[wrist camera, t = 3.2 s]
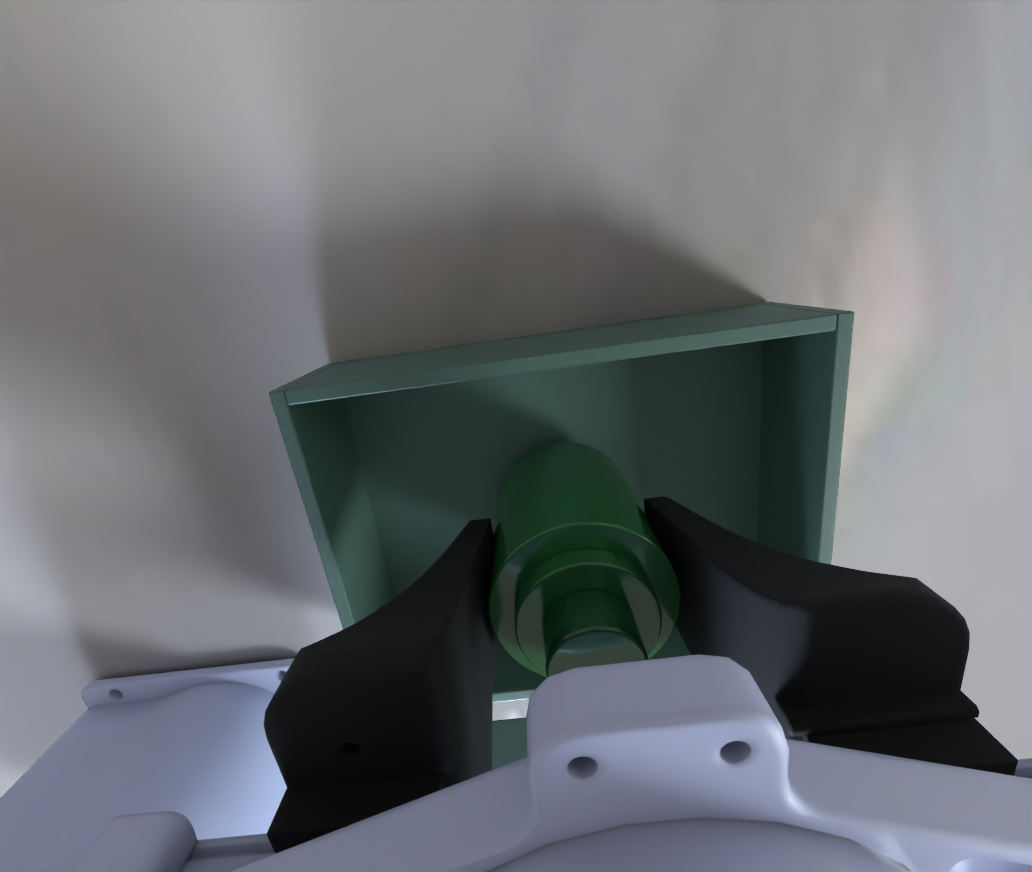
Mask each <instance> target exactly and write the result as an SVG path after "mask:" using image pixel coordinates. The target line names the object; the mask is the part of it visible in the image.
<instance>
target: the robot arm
mask: <svg viewBox="0 0 1032 872" xmlns="http://www.w3.org/2000/svg"><path fill="white" fill-rule="evenodd" d="M644 512H645V515H646V517H647V519H648V521H649V523H650V525H651V526H652V528H653V530H654V532H655V534H656V536H657V537H658V539H659V541H660V543H661V545H662V547H663V548H664V550H665V552H666V554H667V556H668V558H669V560H670V561H671V563H672V565H673V567H674V569H675V572H676V574H677V577H678V581H679V584H680V592H681V604H680V611H679V616H678V619H677V622H676V627H677V629H678V631H679V633H680V635H681V637H682V639H683V641H684V643H685V645H686V647H687V649H688V651H689V653H690V655H689V656H680V657H671V658H662V659H653V660H644V661H635V662H626V663H616V664H607V665H598V666H589V667H580V668H574V669H571V670H568V671H565V672H561V673H558V674H555V675H552V676H549V677H547V678H546V679H545V680H544V682H543V683H542V684H541V685H540V686H539V687H538V688H537V689H536V690H535V691H534V692H533V693H532V694H531V695H530V699H529V705H528V710H527V716H526V717H527V757H525V758H522V759H520V760H517V761H514V762H512V763H509V764H507V765H504V766H501V767H499V768H496V769H494V770H492V695H493V678H494V669H495V661H496V652H497V644H498V639H497V638H496V636H495V633H494V631H493V629H492V626H491V622H490V619H489V611H488V599H489V586H490V573H491V561H492V549H493V537H494V534H493V529H492V523H491V518H486V519H478V520H470V521H469V522H468V524H467V525H466V526H465V527H464V528H463V530H462V531H461V532H460V533H459V535H458V536H457V537H456V538H455V540H454V541H453V542H452V543H451V545H450V546H449V547H448V548H447V549H446V551H445V552H444V553H443V554H442V555H441V556H440V557H439V559H438V560H437V561H436V562H435V563H434V564H433V565H432V566H431V567H430V568H429V569H428V570H427V571H426V572H425V573H424V574H423V575H422V576H421V577H420V578H419V579H418V580H416V581H415V582H414V583H413V584H412V585H411V586H409V587H408V588H407V589H406V590H405V591H403V592H402V593H401V594H399V595H398V596H397V597H395V598H394V599H392V600H391V601H390V602H388V603H387V604H385V605H384V606H382V607H381V608H379V609H378V610H377V611H375V612H374V613H372V614H370V615H369V616H367V617H365V618H364V619H362V620H360V621H358V622H357V623H355V624H353V625H351V626H349V627H347V628H346V629H344V630H342V631H340V632H338V633H336V634H333V635H331V636H329V637H327V638H325V639H322V640H320V641H318V642H316V643H313V644H311V645H309V646H307V647H304V648H302V649H300V651H299V653H298V654H297V656H296V657H295V658H292V659H283V660H274V661H265V662H256V663H247V664H238V665H229V666H220V667H211V668H202V669H193V670H185V671H176V672H167V673H158V674H149V675H140V676H131V677H122V678H113V679H104V680H95V681H91V682H90V683H89V684H88V685H87V686H86V687H85V688H84V689H83V690H82V692H81V696H82V698H83V700H84V702H85V704H86V705H87V707H88V710H87V711H86V712H85V713H84V714H83V715H82V716H81V717H80V718H79V719H78V720H77V721H76V722H75V723H74V724H73V725H72V726H71V727H70V728H69V729H68V730H67V731H66V732H65V733H64V734H63V735H62V736H61V737H60V738H59V739H58V740H57V741H56V742H55V743H54V744H53V745H52V746H51V747H50V748H49V749H48V750H47V751H46V752H45V753H44V754H43V755H42V756H41V757H40V758H39V759H38V760H37V761H36V762H35V763H34V764H33V765H32V766H31V768H30V769H29V770H28V771H27V772H26V773H25V774H24V775H23V776H22V777H21V778H20V779H19V780H18V781H17V782H16V783H15V784H14V785H13V786H12V787H11V788H10V789H9V790H8V791H7V792H6V793H5V794H4V795H3V796H2V797H1V798H0V872H1032V758H1030V759H1020V760H1017V759H1016V758H1015V757H1014V756H1013V755H1012V754H1011V753H1010V752H1009V751H1008V750H1007V749H1006V748H1005V747H1004V746H1003V745H1002V744H1001V743H1000V742H999V741H998V740H997V739H996V738H994V737H993V736H992V735H991V734H990V733H989V732H988V731H987V730H986V729H985V728H984V727H983V726H982V725H981V724H980V723H979V722H978V721H977V720H976V719H975V717H978V715H979V710H978V708H977V706H976V705H975V704H974V703H973V702H972V701H971V700H970V699H969V698H968V697H967V696H966V695H965V694H964V693H963V692H962V691H960V689H961V684H962V679H963V675H964V670H965V665H966V661H967V656H968V651H969V636H970V633H969V630H968V627H967V624H966V621H965V619H964V617H963V616H962V615H961V614H960V613H959V612H958V610H957V609H956V608H955V607H954V606H952V605H951V604H950V603H948V602H947V601H946V600H944V599H943V598H942V597H940V596H939V595H938V594H936V593H935V592H934V591H933V590H931V589H930V588H929V587H927V586H926V585H925V584H923V583H922V582H921V581H919V580H918V579H916V578H911V577H903V576H896V575H888V574H880V573H873V572H866V571H860V570H855V569H849V568H844V567H839V566H834V565H830V564H825V563H821V562H817V561H813V560H809V559H806V558H802V557H799V556H795V555H792V554H788V553H785V552H782V551H779V550H776V549H773V548H770V547H768V546H765V545H762V544H760V543H757V542H754V541H752V540H749V539H747V538H745V537H742V536H740V535H738V534H736V533H734V532H732V531H729V530H727V529H725V528H723V527H721V526H719V525H717V524H715V523H713V522H711V521H709V520H708V519H706V518H704V517H702V516H700V515H699V514H697V513H695V512H693V511H691V510H690V509H688V508H686V507H684V506H683V505H681V504H679V503H677V502H676V501H674V500H672V499H670V498H668V497H666V496H663V497H655V498H647V499H644ZM283 671H285V672H286V673H285V672H283Z"/></svg>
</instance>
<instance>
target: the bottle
mask: <svg viewBox="0 0 1032 872" xmlns="http://www.w3.org/2000/svg"><path fill="white" fill-rule="evenodd" d="M680 604H681V592H680V584H679V581H678V577H677V574H676V572H675V569H674V567H673V565H672V563H671V561H670V560H669V558H668V556H667V554H666V552H665V550H664V548H663V547H662V545H661V543H660V541H659V539H658V537H657V536H656V534H655V532H654V530H653V528H652V526H651V525H650V523H649V521H648V519H647V517H646V515H645V513H644V512H643V510H642V508H641V506H640V504H639V502H638V501H637V499H636V497H635V495H634V493H633V491H632V490H631V488H630V486H629V484H628V482H627V480H626V478H625V477H624V475H623V473H622V472H621V470H620V468H619V467H618V466H617V465H616V464H615V462H614V461H613V460H612V459H610V458H609V457H608V456H607V455H606V454H604V453H602V452H601V451H599V450H597V449H595V448H593V447H591V446H587V445H584V444H580V443H574V442H556V443H551V444H546V445H543V446H540V447H537V448H535V449H533V450H531V451H529V452H527V453H526V454H524V455H522V456H521V457H520V458H519V459H518V460H516V461H515V462H514V463H513V464H512V466H511V467H510V468H509V469H508V471H507V472H506V473H505V475H504V477H503V479H502V481H501V483H500V486H499V489H498V493H497V500H496V512H495V524H494V537H493V549H492V561H491V573H490V586H489V599H488V611H489V619H490V622H491V626H492V629H493V631H494V633H495V636H496V638H497V639H498V641H499V642H500V644H501V646H502V647H503V648H504V649H505V651H506V652H507V653H508V654H509V655H510V656H511V657H512V658H513V659H514V660H515V661H517V662H518V663H519V664H521V665H522V666H524V667H525V668H527V669H529V670H531V671H533V672H534V673H537V674H539V675H542V676H544V677H549V676H552V675H555V674H558V673H561V672H565V671H568V670H571V669H574V668H580V667H589V666H598V665H607V664H616V663H626V662H635V661H644V660H649V659H650V658H651V657H652V656H653V655H655V654H656V653H657V652H658V651H659V649H660V648H661V647H662V646H663V645H664V644H665V642H666V641H667V640H668V638H669V637H670V635H671V633H672V631H673V629H674V627H675V625H676V622H677V619H678V616H679V611H680Z"/></svg>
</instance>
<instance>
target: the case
mask: <svg viewBox="0 0 1032 872" xmlns="http://www.w3.org/2000/svg"><path fill="white" fill-rule="evenodd" d="M853 320H854V312H852V311H844V310H835V309H826V308H818V307H809V306H800V305H791V304H783V303H774V302H767V303H760V304H753V305H746V306H739V307H732V308H724V309H717V310H710V311H703V312H696V313H689V314H682V315H674V316H667V317H660V318H653V319H646V320H639V321H632V322H625V323H617V324H610V325H603V326H596V327H589V328H582V329H575V330H567V331H560V332H553V333H546V334H539V335H532V336H525V337H517V338H510V339H503V340H496V341H489V342H482V343H475V344H467V345H460V346H453V347H446V348H439V349H432V350H425V351H418V352H410V353H403V354H396V355H389V356H382V357H375V358H368V359H360V360H353V361H346V362H339V363H332V364H327V365H325V366H323V367H321V368H319V369H317V370H314V371H312V372H310V373H308V374H306V375H304V376H302V377H300V378H298V379H296V380H294V381H292V382H290V383H288V384H285V385H283V386H281V387H279V388H277V389H275V390H273V391H271V392H269V396H270V399H271V402H272V405H273V408H274V411H275V415H276V418H277V421H278V424H279V427H280V430H281V434H282V437H283V440H284V443H285V446H286V449H287V453H288V456H289V459H290V462H291V465H292V468H293V471H294V475H295V478H296V481H297V484H298V487H299V490H300V494H301V497H302V500H303V503H304V506H305V509H306V513H307V516H308V519H309V522H310V525H311V528H312V532H313V535H314V538H315V541H316V544H317V547H318V551H319V554H320V557H321V560H322V563H323V566H324V569H325V573H326V576H327V579H328V582H329V585H330V588H331V592H332V595H333V598H334V601H335V604H336V607H337V611H338V614H339V617H340V620H341V623H342V626H343V630H344V629H346V628H347V627H349V626H351V625H353V624H355V623H357V622H358V621H360V620H362V619H364V618H365V617H367V616H369V615H370V614H372V613H374V612H375V611H377V610H378V609H379V608H381V607H382V606H384V605H385V604H387V603H388V602H390V601H391V600H392V599H394V598H395V597H397V596H398V595H399V594H401V593H402V592H403V591H405V590H406V589H407V588H408V587H409V586H411V585H412V584H413V583H414V582H415V581H416V580H418V579H419V578H420V577H421V576H422V575H423V574H424V573H425V572H426V571H427V570H428V569H429V568H430V567H431V566H432V565H433V564H434V563H435V562H436V561H437V560H438V559H439V557H440V556H441V555H442V554H443V553H444V552H445V551H446V549H447V548H448V547H449V546H450V545H451V543H452V542H453V541H454V540H455V538H456V537H457V536H458V535H459V533H460V532H461V531H462V530H463V528H464V527H465V526H466V525H467V524H468V522H469V521H470V520H478V519H486V518H491V523H492V529H493V534H494V524H495V512H496V500H497V493H498V489H499V486H500V483H501V481H502V479H503V477H504V475H505V473H506V472H507V471H508V469H509V468H510V467H511V466H512V464H513V463H514V462H515V461H516V460H518V459H519V458H520V457H521V456H522V455H524V454H526V453H527V452H529V451H531V450H533V449H535V448H537V447H540V446H543V445H546V444H551V443H556V442H574V443H580V444H584V445H587V446H591V447H593V448H595V449H597V450H599V451H601V452H602V453H604V454H606V455H607V456H608V457H609V458H610V459H612V460H613V461H614V462H615V464H616V465H617V466H618V467H619V468H620V470H621V472H622V473H623V475H624V477H625V478H626V480H627V482H628V484H629V486H630V488H631V490H632V491H633V493H634V495H635V497H636V499H637V501H638V502H639V504H640V506H641V508H642V510H643V512H644V499H647V498H655V497H663V496H666V497H668V498H670V499H672V500H674V501H676V502H677V503H679V504H681V505H683V506H684V507H686V508H688V509H690V510H691V511H693V512H695V513H697V514H699V515H700V516H702V517H704V518H706V519H708V520H709V521H711V522H713V523H715V524H717V525H719V526H721V527H723V528H725V529H727V530H729V531H732V532H734V533H736V534H738V535H740V536H742V537H745V538H747V539H749V540H752V541H754V542H757V543H760V544H762V545H765V546H768V547H770V548H773V549H776V550H779V551H782V552H785V553H788V554H792V555H795V556H799V557H802V558H806V559H809V560H813V561H817V562H821V563H825V564H830V565H831V561H832V550H833V539H834V528H835V517H836V506H837V496H838V485H839V474H840V463H841V452H842V441H843V430H844V419H845V408H846V397H847V386H848V375H849V364H850V353H851V342H852V331H853ZM644 513H645V512H644ZM689 655H690V653H689V651H688V649H687V647H686V645H685V643H684V641H683V639H682V637H681V635H680V633H679V631H678V629H677V627H676V625H675V627H674V629H673V631H672V633H671V635H670V637H669V638H668V640H667V641H666V642H665V644H664V645H663V646H662V647H661V648H660V649H659V651H658V652H657V653H656V654H655V655H653V656H652V657H651V658H650V659H649V660H653V659H662V658H671V657H680V656H689ZM546 678H547V677H544V676H542V675H539V674H537V673H534V672H533V671H531V670H529V669H527V668H525V667H524V666H522V665H521V664H519V663H518V662H517V661H515V660H514V659H513V658H512V657H511V656H510V655H509V654H508V653H507V652H506V651H505V649H504V648H503V647H502V646H501V644H500V642H499V641H498V644H497V652H496V661H495V669H494V678H493V695H492V703H493V702H502V701H512V700H521V699H530V695H531V694H532V693H533V692H534V691H535V690H536V689H537V688H538V687H539V686H540V685H541V684H542V683H543V682H544V680H545V679H546Z"/></svg>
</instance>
